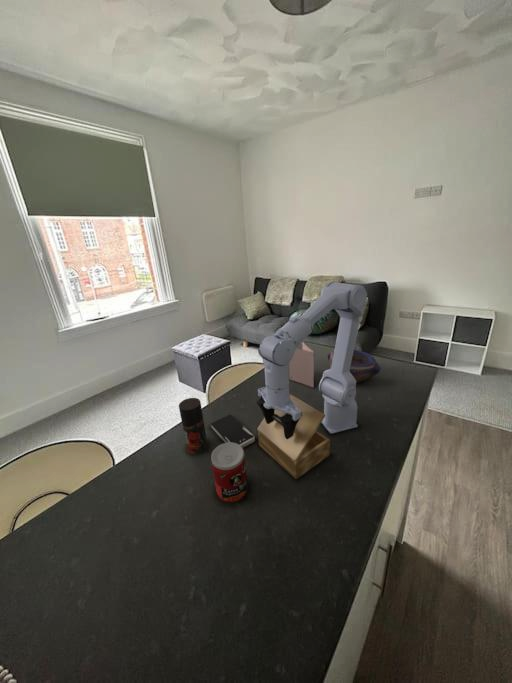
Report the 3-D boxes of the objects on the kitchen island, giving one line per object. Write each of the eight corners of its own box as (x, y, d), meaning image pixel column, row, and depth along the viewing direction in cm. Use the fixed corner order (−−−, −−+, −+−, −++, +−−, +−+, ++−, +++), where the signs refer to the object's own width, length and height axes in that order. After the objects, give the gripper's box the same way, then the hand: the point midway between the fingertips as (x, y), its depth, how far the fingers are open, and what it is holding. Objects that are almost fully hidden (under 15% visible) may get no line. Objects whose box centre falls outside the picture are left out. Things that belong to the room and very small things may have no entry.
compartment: (290, 426, 88) (290, 412, 86) (329, 455, 76) (330, 439, 74) (259, 445, 81) (257, 430, 79) (296, 479, 69) (295, 463, 67)
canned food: (223, 509, 63) (217, 473, 59) (212, 484, 70) (206, 449, 66) (253, 494, 66) (250, 458, 62) (239, 471, 73) (235, 437, 69)
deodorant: (211, 442, 84) (204, 400, 78) (199, 456, 79) (191, 412, 73) (195, 437, 86) (187, 396, 81) (183, 450, 81) (174, 407, 76)
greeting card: (315, 387, 109) (316, 352, 103) (297, 390, 107) (297, 355, 102) (304, 374, 119) (304, 341, 114) (287, 376, 118) (287, 344, 112)
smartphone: (230, 414, 94) (255, 437, 82) (230, 417, 95) (256, 440, 83) (210, 423, 90) (233, 449, 78) (210, 426, 91) (234, 452, 79)
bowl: (382, 388, 105) (385, 364, 101) (334, 390, 105) (335, 367, 102) (365, 366, 121) (367, 345, 118) (324, 369, 122) (325, 348, 118)
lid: (284, 390, 82) (276, 383, 79) (325, 415, 70) (317, 408, 67) (258, 429, 79) (249, 424, 76) (296, 462, 67) (286, 456, 64)
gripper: (247, 378, 71) (251, 422, 76) (284, 403, 60) (286, 452, 65) (268, 369, 75) (271, 411, 80) (307, 391, 64) (307, 438, 69)
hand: (279, 429), depth 73 cm, fingers open, 7 cm apart
